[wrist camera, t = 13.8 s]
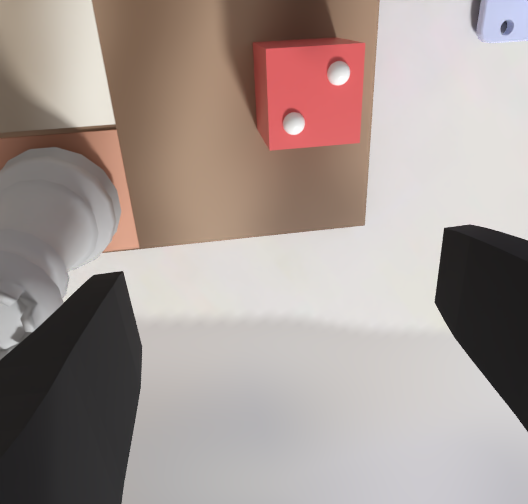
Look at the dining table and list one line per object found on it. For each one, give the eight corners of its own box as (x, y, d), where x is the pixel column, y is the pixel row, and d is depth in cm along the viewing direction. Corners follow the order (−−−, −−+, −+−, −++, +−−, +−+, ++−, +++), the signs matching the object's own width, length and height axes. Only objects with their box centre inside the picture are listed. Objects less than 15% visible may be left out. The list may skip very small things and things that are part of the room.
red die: (336, 37, 16) (369, 43, 13) (334, 123, 18) (363, 145, 15) (252, 42, 16) (267, 49, 13) (257, 129, 17) (271, 153, 14)
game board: (376, -47, 16) (383, -49, 15) (360, 219, 21) (365, 226, 20) (-200, -25, 14) (-219, -26, 13) (-71, 264, 19) (-80, 273, 18)
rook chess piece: (-31, 194, 17) (-185, 326, 10) (57, 117, 16) (-42, 201, 9) (65, 273, 19) (-7, 430, 12) (147, 208, 18) (122, 334, 11)
